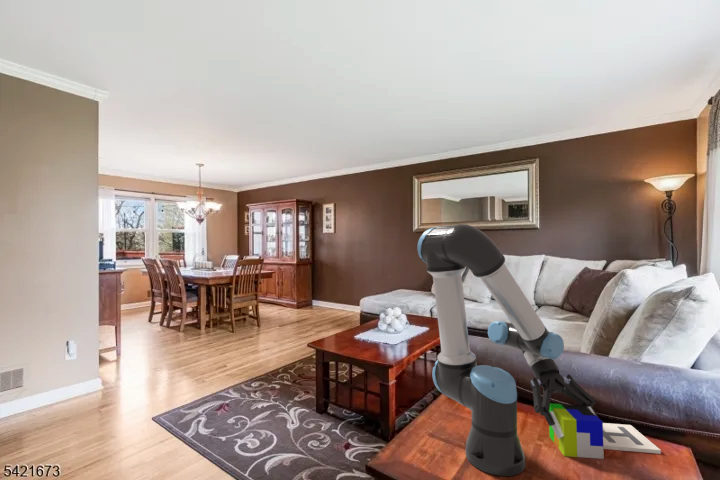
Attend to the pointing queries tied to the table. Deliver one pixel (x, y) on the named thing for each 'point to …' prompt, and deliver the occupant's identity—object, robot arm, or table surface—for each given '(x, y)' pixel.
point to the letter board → (626, 439)
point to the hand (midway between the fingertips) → (581, 434)
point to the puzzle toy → (578, 431)
